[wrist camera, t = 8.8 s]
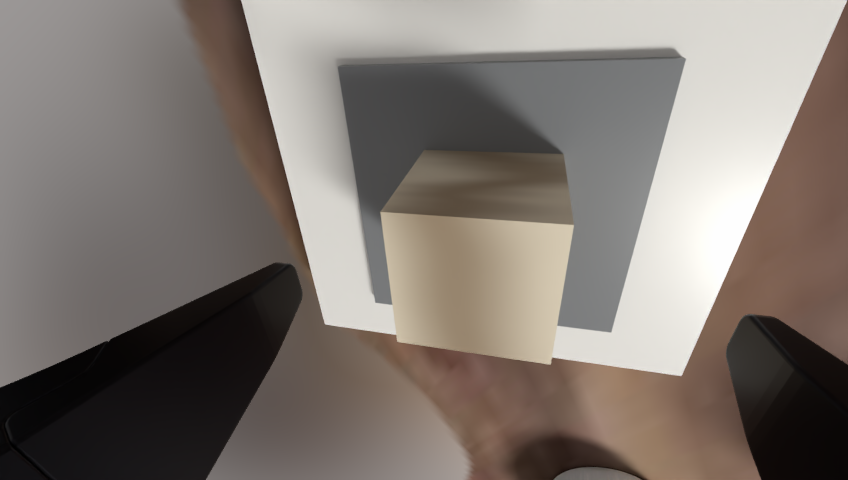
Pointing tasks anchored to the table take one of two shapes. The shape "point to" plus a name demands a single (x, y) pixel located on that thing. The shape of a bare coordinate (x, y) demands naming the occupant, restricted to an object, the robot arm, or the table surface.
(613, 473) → the ramekin
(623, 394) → the table surface
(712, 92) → the base
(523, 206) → the birch block
